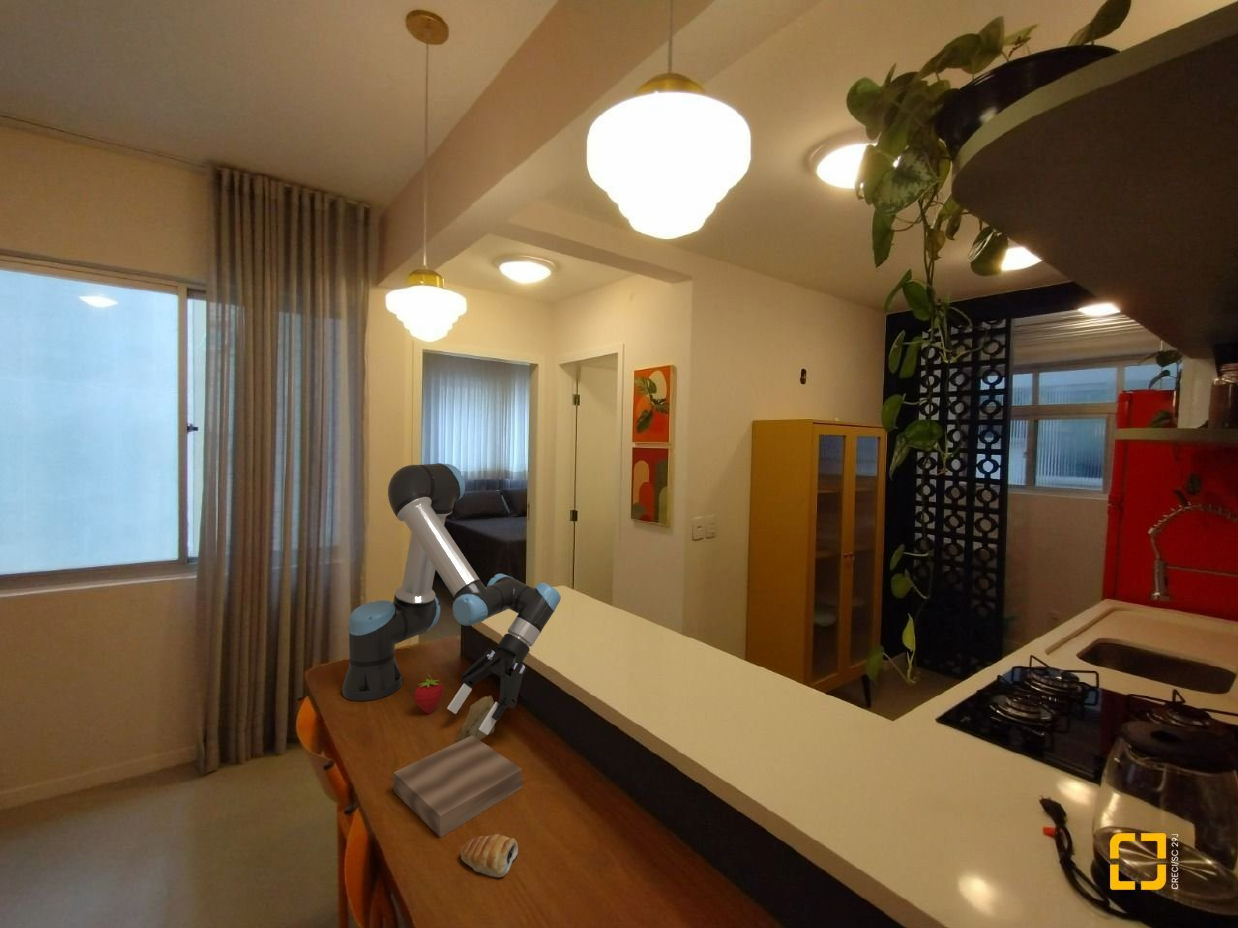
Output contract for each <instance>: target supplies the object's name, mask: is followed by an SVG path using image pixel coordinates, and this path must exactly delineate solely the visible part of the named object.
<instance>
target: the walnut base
mask: <svg viewBox="0 0 1238 928" xmlns="http://www.w3.org/2000/svg"><path fill="white" fill-rule="evenodd" d="M521 789H523V769H522V768H521V767H519V766H518V765H517V764H515V763H513V762H512V761H511V760H510V759H508V758H507V757H505V756H503V755H502V754H501V753H499V752H498V751H496V750H494V749H493V748H492V747H490V746H489V745H488V744H486V743H484V742H483V741H481V739H480V740H478V739H477V738H476V737H474V736H473V735H472V736H470V737H467V738H465V739H463V740H461V741H459V742H457V743H456V742H455V743H453V744H451V745H449V746H447V747H444V748H442V749H440V750H439V751H435V752H434V753H431V754H429V755H427V756H425V757H423V758H421V759H419V760H417V761H415V762H412V763H411V764H408V765H407V766H404V767H402V768H400V769H398V770H396V771H393V793H395V794H396V795H397V796H398V797H399V799H401V800H402V802H404V804H406V805H407V806H408V808H410V809H411V811H413V813H414V814H416V816H417V817H419V818H420V819H421V821H423V822H424V823H425V824H426V825H427V826H428V827H429V828H430V829H431V830H432V832H434V833H435V834H436V836H438V837H439V838H440V839H441V838H443V837H445V835H446V836H447V835H448V834H449V833H451V832H453V831H454V830H456V829H457V828H459V827H461V826H462V825H464V824H465V823H467V822H469V821H471V820H472V819H474V818H475V817H477V816H479V815H481V814H482V813H484V812H485V811H487V810H488V809H491V808H492V807H494V806H495V805H496V804H497V805H498V804H499V803H500V802H502V801H503V800H505V799H506V798H509V797H510V796H512V795H513V794H515V793H516V792H518V791H519V790H521Z"/></svg>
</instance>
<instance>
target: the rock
mask: <svg viewBox="0 0 1238 928" xmlns="http://www.w3.org/2000/svg"><path fill="white" fill-rule="evenodd" d="M494 704H495V702H494V699H493V696H492V694H491V695H488V696H487V695H486V696H482V697H480V698H479V699H478V700H477V701H475V702H474V703H472V704H470V706H469V711H468V714H467V715H466V717H465V719H464V722H463V724H462V725H461V727H460V728H459V732H458V735H457V737H456V739H455V743H457V742H459V741H461V740H463V739H465V738H467V737H470V736H472V735H473V736H474V737H476V738H477V739H478V740H480V741H481V740H482V739H483V738H485V737H487V736H488V735H490V734H493V733H494V732H495V725H494V726H493V727H492V729H491V731H490V732H489V734H488V735H487V734H485V733H484V732H482V731H480V730H479V728H480V726H481V724H482V723H483V721H484V720H485V718H486V716H487V715H488V713H489V712H490V710H491V708H492V707H493V705H494Z"/></svg>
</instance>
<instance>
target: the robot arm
mask: <svg viewBox="0 0 1238 928" xmlns="http://www.w3.org/2000/svg"><path fill="white" fill-rule="evenodd" d="M465 492H466V481H465V478H464V476H463V475H462V472H461V471H460V470H459V468H457V467H456V466H454V465H453V464H450V463H439V462H437V463H429V464H427V463H426V464H410V465H409V464H408V465H406V466H403V467H400V469H397V471H395V473H394V474H393V475H392V477H391V478H390V481H389V484H388V487H387V496H388V501H389V502H388V503H389V505H390V507H391V510H392V511H393V513H394V515H395V517H396V518H397V519H398V521H400V522H404V523H405V524H406V526H407V528H408V529H409V531H410V532H411V535H410V539H409V545H408V550H407V554H406V555H407V556H406V561H405V566H404V567H405V568H404V573H403V576H402V582H401V586H399V587H398V588H396V590H395V591H394V596H393V601H390V600H376V601H371V602H367V603H365V604H362V605H360V606H357V607H356V608H355V609H354V610H353V611H352V612H351V613H350V615H349V618H348V619H349V620H348V622H349V623H348V641H349V642H348V644H349V645H348V646H349V647H348V652H349V653H348V654H349V657H348V658H349V660H348V661H349V664H348V665H349V666H348V669H347V671H346V674H345V678H344V679H343V684H342V695H343V697H344V698H345V699H347V700H350V701H354V702H367V701H368V702H369V701H374V700H378V699H382V698H385V697H387V696H390V695H392V694H394V693H395V692H397V691H398V690H400V688H401V687H402V684H403V680H402V679H403V677H402V672H401V670H400V668H399V665H398V662H397V660H396V645H397V644H400V643H402V642H404V641H407V640H409V639H411V638H414V637H416V636H419V635H423V634H424V633H426V632H427V631H429V630H431V629H432V628H433V627H435V625H436V624H437V623H438V621H439V619H440V616H441V605H440V604H439V603H440V602H439V599H438V597H436V595H437V594H436V592H435V591H434V590H433V583H434V578H435V574H436V572H437V573H438V575H439V576H440V578H441V579H442V581H443V583H444V584H445V586H446V588H448V590H449V593H450V594H451V595H452V596H453V598H454V601H453V603H452V612H453V617H454V620H456V622H457V623H459V624H460V625H462V626H465V627H467V626H472V625H475V624H480V623H481V622H484V621H485V620H487V619H489V618H490V617H493V616H495V615H498V614H500V613H503V612H504V611H507V610H510V611H513V612H514V613H516V614H517V616H516V617H515V618H514V620H513V621H512V622H511V624H510V626H509V627H508V629H507V633H505V634H504V635H503V637H502V638H501V640H500V641H499V643H498V644H497V646H498V649H497V650H496V652H495V651H494V650H493V649H491V648H487V649H486V651H485V652H484V653H483V655H482V656H481V657H479V658H478V659H477V660H476V661H475V662H474V663H473V664H471V665H470V666H469V667H468V668H466V670H465V671H463V672H462V673H461V674H460V675H459V677H460V679H461V680H462V683H461V685H460V686H459V688H458V689H457V691H456V692H455V696H454V697H453V699H452V700H451V702H450V703H449V704H448V706H447V707H446V709H447V710H449V711H450V712H452V713H453V714H455V715H457V713H458V711H459V710H460V709H461V708H462V705H463V704H464V702H465V701H466V699H467V698H468V696H469V695H470V693H471V692H472V690H473V686H474V685H476V684H477V683H479V682H481V681H482V680H485V679H486V678H488V677H489V676H490V675H494V674H495V675H497V676H500V685H499V697H498V700H497V701H495V702H494V705H493V707H492V708H491V710H490V712H489V713H488V715H487V716H486V718H485V720H484V721H483V723H482V724H481V726H480V728H479V730H480V731H482V732H484V733H485V734H487V736H488V735H490V734H489V732H490V731H491V729H492V727H493V726H494V727H495V724H496V722H498V721H499V720H500V718H501V717H502V715H503V714H504V712H505V711H506V710H507V709H508V708H510V709H514V708H515V707H516V705H517V702H518V698H519V697H518V696H519V695H520V694H519V693H520V689H521V686H522V682H523V677H524V675H525V673H526V671H527V668H528V667H526V666H525V665H524V664H523V663H522V662H524V660H525V658H526V657H527V656H528V654H529V652H531V651H530V650H531V649H530V647H534V644H535V642H536V641H537V640H538V638H539V636H540V634H541V633H542V632H543V629H544V628H545V626H546V624H547V623H548V622H549V620H550V619H551V617H552V616H553V614H554V613H555V612H556V609H557V607H558V605H559V604H560V602H561V599H562V597H561V594H560V592H559V591H558V590H557V589H556V588H554V587H553V586H551V585H550V584H547V583H546V582H545V583H544V582H538V583H537V585H536V586H535V587H532V586H529V585H528V584H526V583H523V582H521V581H519V580H518V579H516V578H514V577H513V576H510V575H506V574H504V573H497V574H495V575H494V576H493V577H491V578H490V579H489V581H488V583H487V586H485V585H484V584H483V582H482V580H481V579H480V577H479V576H478V575H477V573H476V571H475V570H474V569H473V567H472V566H471V564H470V563H469V562H468V560H467V558H466V557H465V556H464V553H462V551H461V549H460V548H459V546H458V545H457V543H456V542H455V540H454V539H453V538H452V536H451V534H450V533H449V531H448V529H447V528H446V526H445V523H446V517H447V516H449V515H451V514H452V513H453V510H454V506H455V505H454V504H455V503H456V502H458V501H460V499H462V498H463V497H464V495H465Z"/></svg>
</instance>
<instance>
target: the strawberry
mask: <svg viewBox="0 0 1238 928" xmlns="http://www.w3.org/2000/svg"><path fill="white" fill-rule="evenodd" d="M427 675H428V676H429V678H430V679H428V678H426V680H425V682H421V683H418V687H417V688H416V689H415V690H414V694H413V699H414V702H415V703H416V705H417V706H418V707H419V708H420V709H421V710H423V711H424V712H425V713H426V714H432V713H433V711H434V709H436V707H437V706H438V705H439V703H440V701H441V699H442V698H443V694H444V691H445V690H444V686H443V684H442V683H440V681H441V680H440V679H435V680H434V679H432V677H431V675H430V674H429V673H428V674H427Z"/></svg>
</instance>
